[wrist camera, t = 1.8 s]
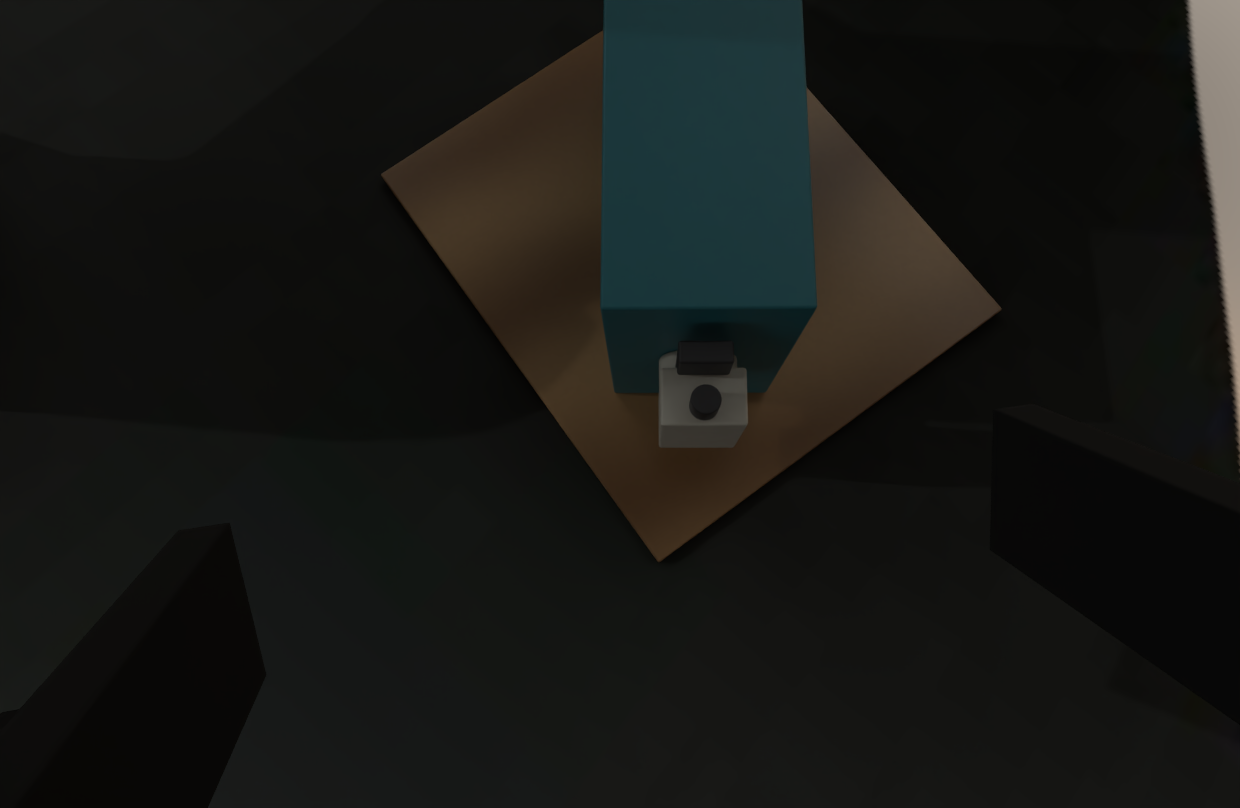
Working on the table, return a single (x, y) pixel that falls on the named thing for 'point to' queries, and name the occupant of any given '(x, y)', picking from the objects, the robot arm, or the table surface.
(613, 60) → the teal box
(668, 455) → the cork mat
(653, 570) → the table surface
